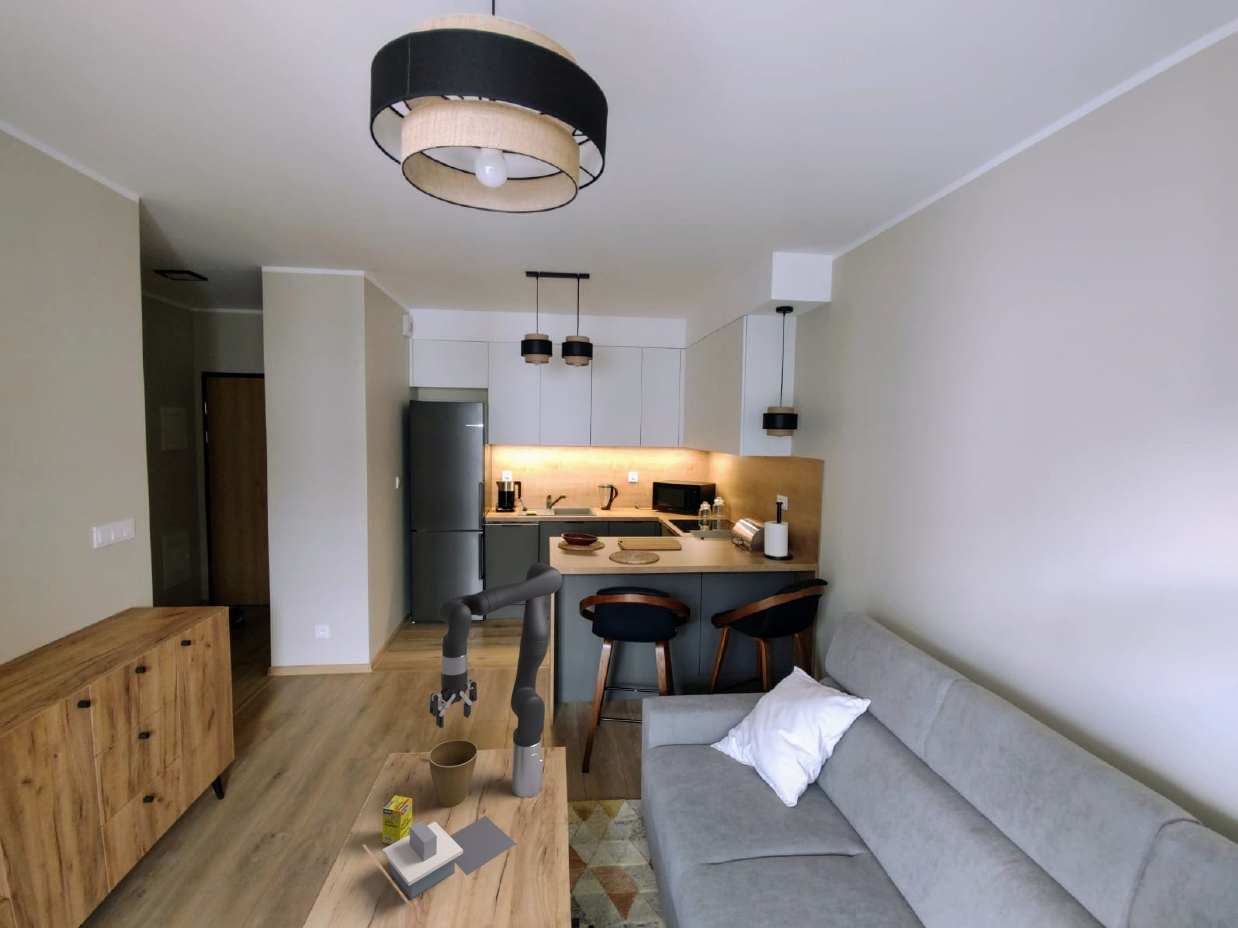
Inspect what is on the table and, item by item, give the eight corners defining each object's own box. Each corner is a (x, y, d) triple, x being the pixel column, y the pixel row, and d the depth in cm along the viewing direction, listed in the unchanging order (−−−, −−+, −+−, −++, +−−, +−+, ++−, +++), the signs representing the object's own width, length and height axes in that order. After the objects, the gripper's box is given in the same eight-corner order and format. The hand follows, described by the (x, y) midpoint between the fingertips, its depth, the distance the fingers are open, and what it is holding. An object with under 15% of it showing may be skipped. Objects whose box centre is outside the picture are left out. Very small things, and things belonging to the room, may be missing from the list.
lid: (435, 824, 155) (435, 804, 155) (463, 853, 145) (463, 831, 145) (382, 852, 144) (382, 831, 144) (408, 885, 134) (409, 862, 134)
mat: (485, 817, 167) (485, 815, 167) (516, 845, 156) (516, 843, 156) (437, 844, 156) (437, 842, 156) (467, 877, 145) (467, 874, 145)
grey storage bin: (432, 850, 153) (432, 830, 153) (454, 874, 145) (454, 853, 145) (390, 874, 145) (390, 852, 144) (411, 901, 137) (411, 879, 136)
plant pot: (425, 819, 166) (426, 768, 165) (430, 788, 180) (431, 741, 179) (476, 813, 169) (477, 763, 168) (477, 783, 184) (477, 737, 183)
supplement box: (400, 848, 154) (400, 811, 153) (381, 845, 155) (381, 807, 154) (412, 833, 160) (412, 797, 159) (394, 830, 161) (394, 794, 160)
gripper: (468, 657, 169) (468, 708, 170) (425, 671, 158) (424, 725, 159) (482, 665, 164) (481, 717, 164) (438, 679, 153) (437, 735, 154)
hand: (453, 721), depth 162 cm, fingers open, 8 cm apart
